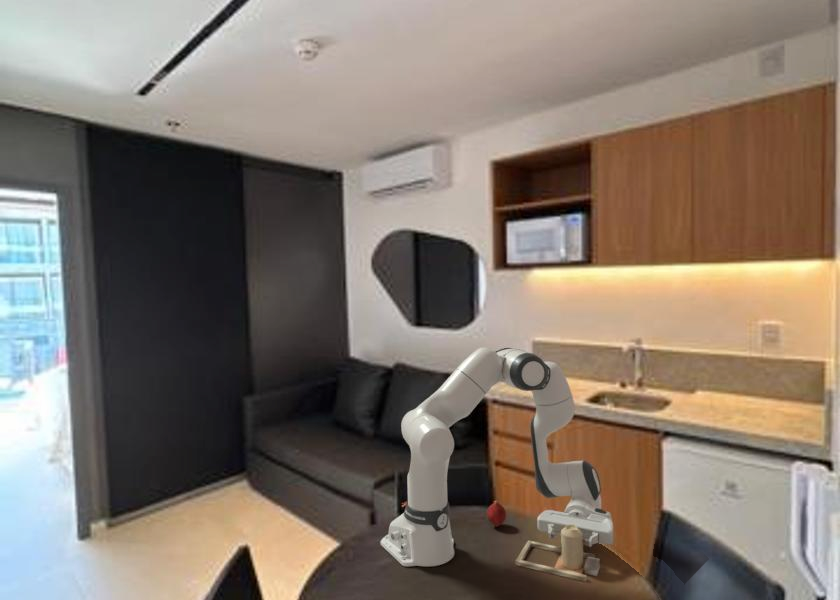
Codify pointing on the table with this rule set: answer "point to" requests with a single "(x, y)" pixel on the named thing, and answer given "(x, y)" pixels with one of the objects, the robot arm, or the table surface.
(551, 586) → the table surface
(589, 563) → the beige frame
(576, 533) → the candle
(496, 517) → the onion
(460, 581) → the table surface
